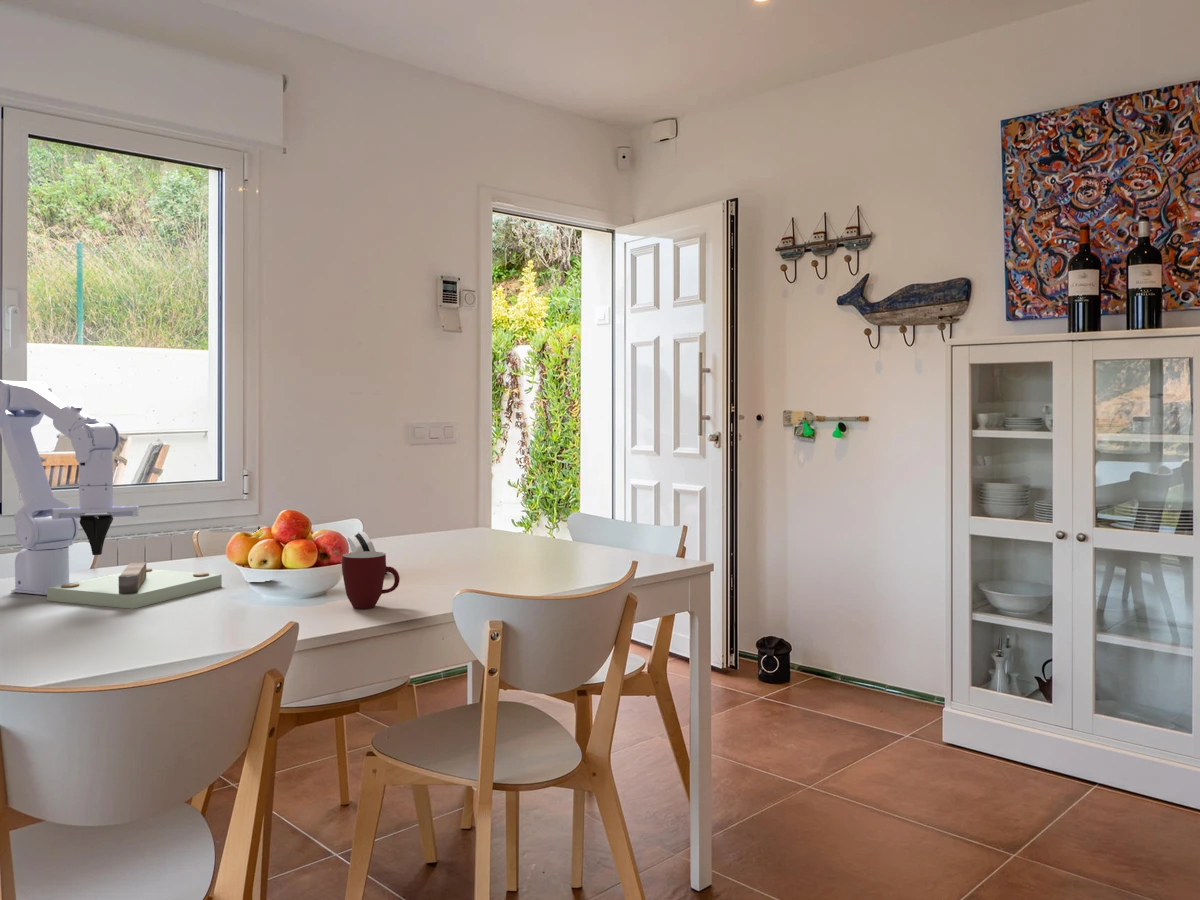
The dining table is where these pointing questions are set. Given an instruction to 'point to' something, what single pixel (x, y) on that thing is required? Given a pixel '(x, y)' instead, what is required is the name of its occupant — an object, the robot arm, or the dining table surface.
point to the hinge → (361, 543)
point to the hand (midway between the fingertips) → (97, 554)
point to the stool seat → (151, 591)
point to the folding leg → (132, 578)
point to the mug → (366, 577)
